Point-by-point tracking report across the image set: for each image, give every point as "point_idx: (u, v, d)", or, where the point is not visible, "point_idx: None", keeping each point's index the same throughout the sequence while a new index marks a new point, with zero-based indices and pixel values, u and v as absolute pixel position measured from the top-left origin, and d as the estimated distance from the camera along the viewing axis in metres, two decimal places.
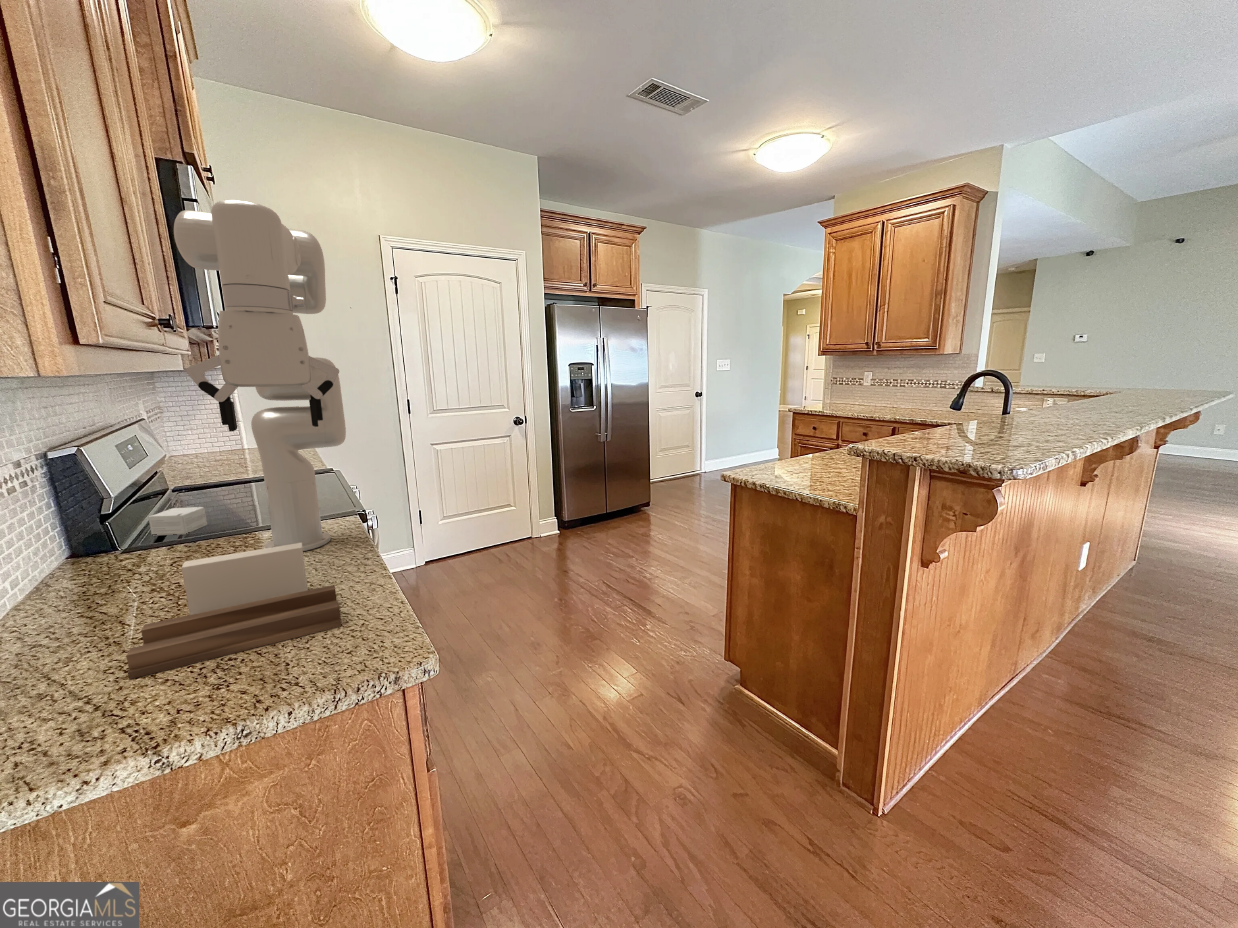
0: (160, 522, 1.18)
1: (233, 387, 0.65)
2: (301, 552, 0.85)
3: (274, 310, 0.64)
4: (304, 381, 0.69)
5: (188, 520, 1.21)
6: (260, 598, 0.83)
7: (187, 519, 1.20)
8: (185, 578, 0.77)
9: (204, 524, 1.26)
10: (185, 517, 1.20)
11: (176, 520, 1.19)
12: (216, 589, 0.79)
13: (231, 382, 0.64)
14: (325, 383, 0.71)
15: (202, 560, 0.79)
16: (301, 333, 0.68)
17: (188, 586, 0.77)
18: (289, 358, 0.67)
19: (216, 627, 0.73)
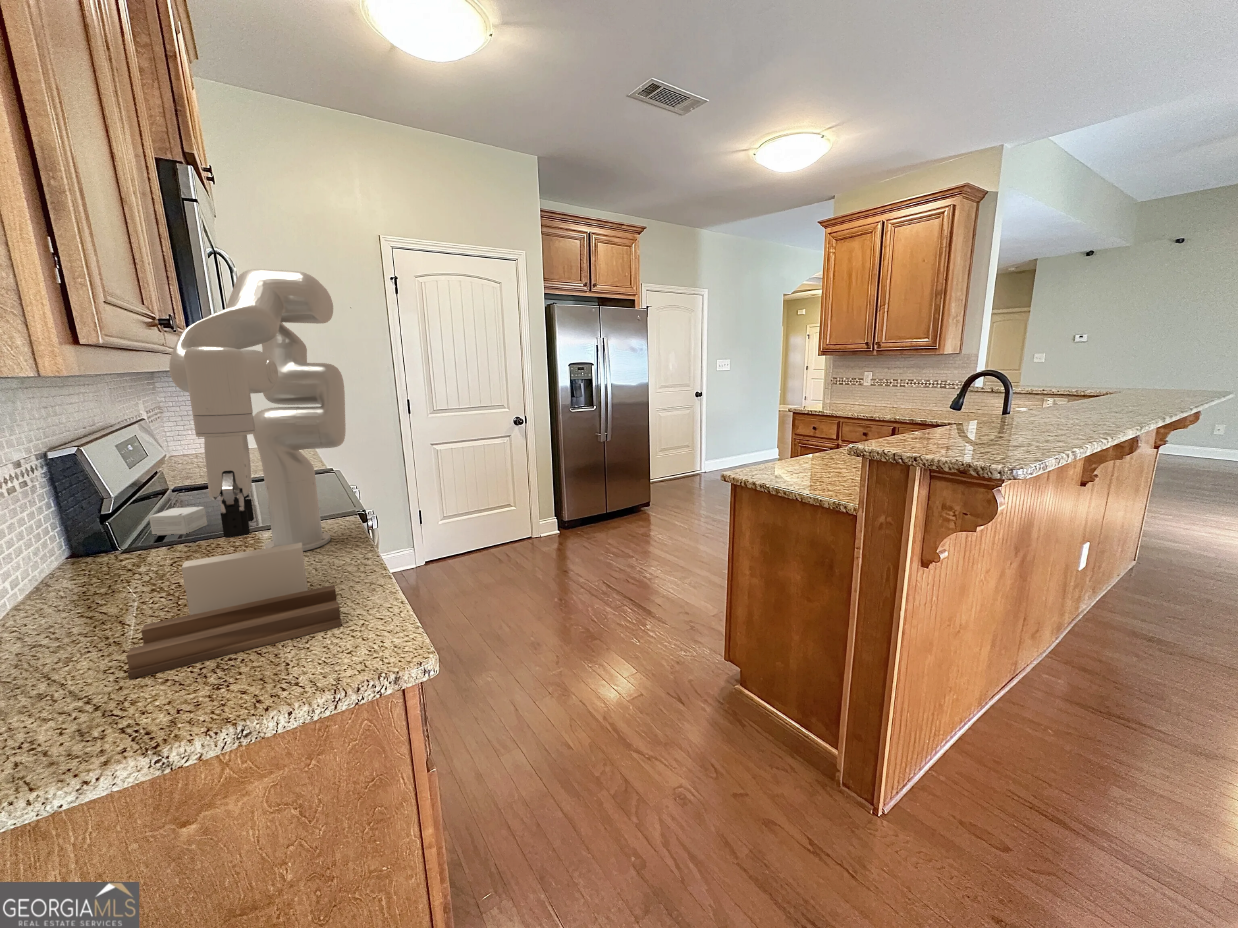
0: (161, 522, 1.18)
1: (243, 497, 0.77)
2: (301, 552, 0.85)
3: None
4: None
5: (189, 520, 1.21)
6: (260, 598, 0.83)
7: (189, 519, 1.21)
8: (185, 578, 0.77)
9: (204, 524, 1.26)
10: (186, 517, 1.20)
11: (177, 520, 1.19)
12: (216, 589, 0.79)
13: (247, 493, 0.77)
14: None
15: (202, 560, 0.79)
16: None
17: (188, 586, 0.77)
18: None
19: (216, 627, 0.73)
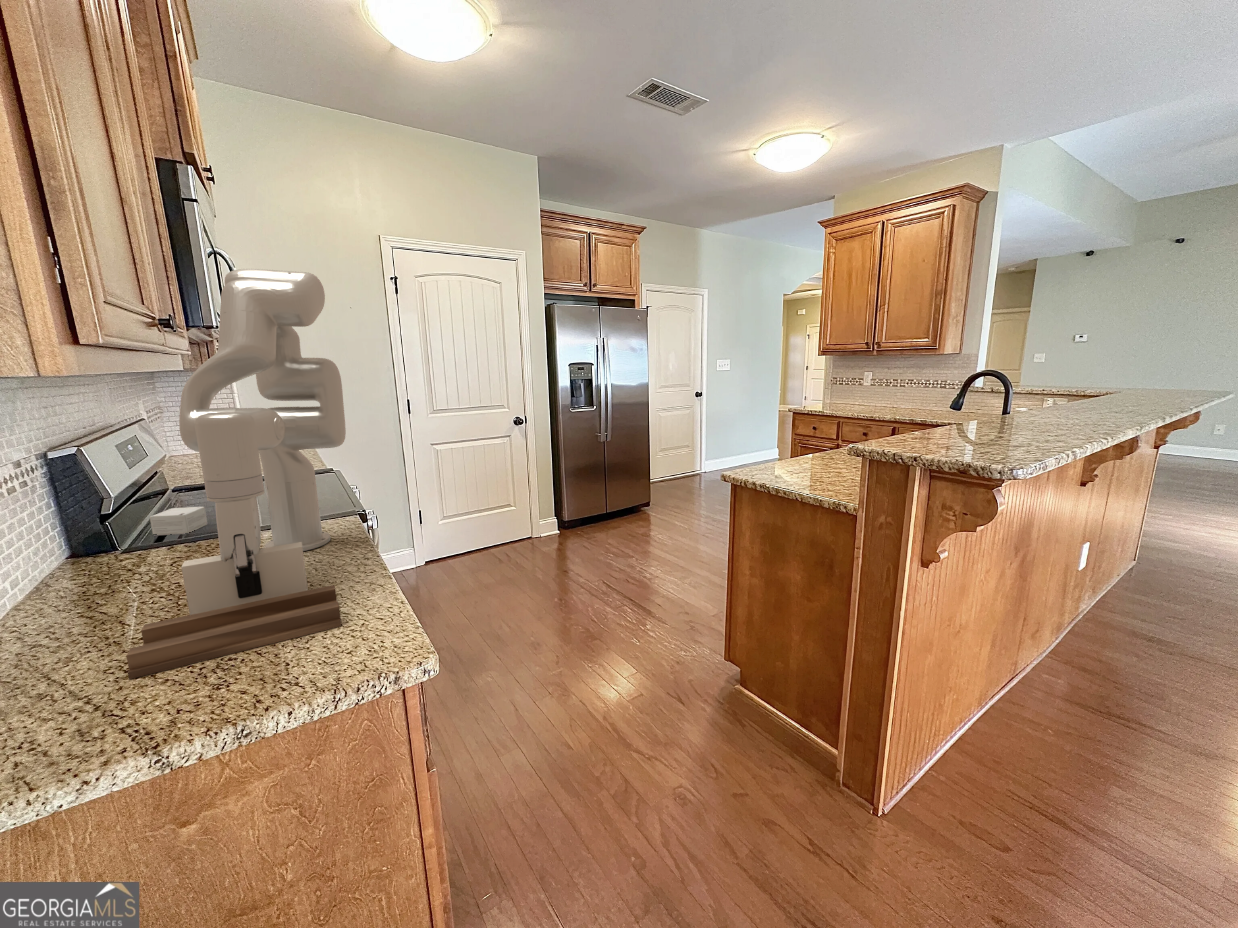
0: (162, 522, 1.18)
1: None
2: (301, 551, 0.85)
3: None
4: None
5: (190, 520, 1.21)
6: (260, 597, 0.83)
7: (190, 519, 1.21)
8: (185, 577, 0.77)
9: (205, 524, 1.26)
10: (187, 516, 1.20)
11: (178, 520, 1.19)
12: (216, 589, 0.79)
13: (257, 553, 0.79)
14: None
15: (202, 559, 0.79)
16: None
17: (188, 585, 0.77)
18: None
19: (216, 627, 0.73)
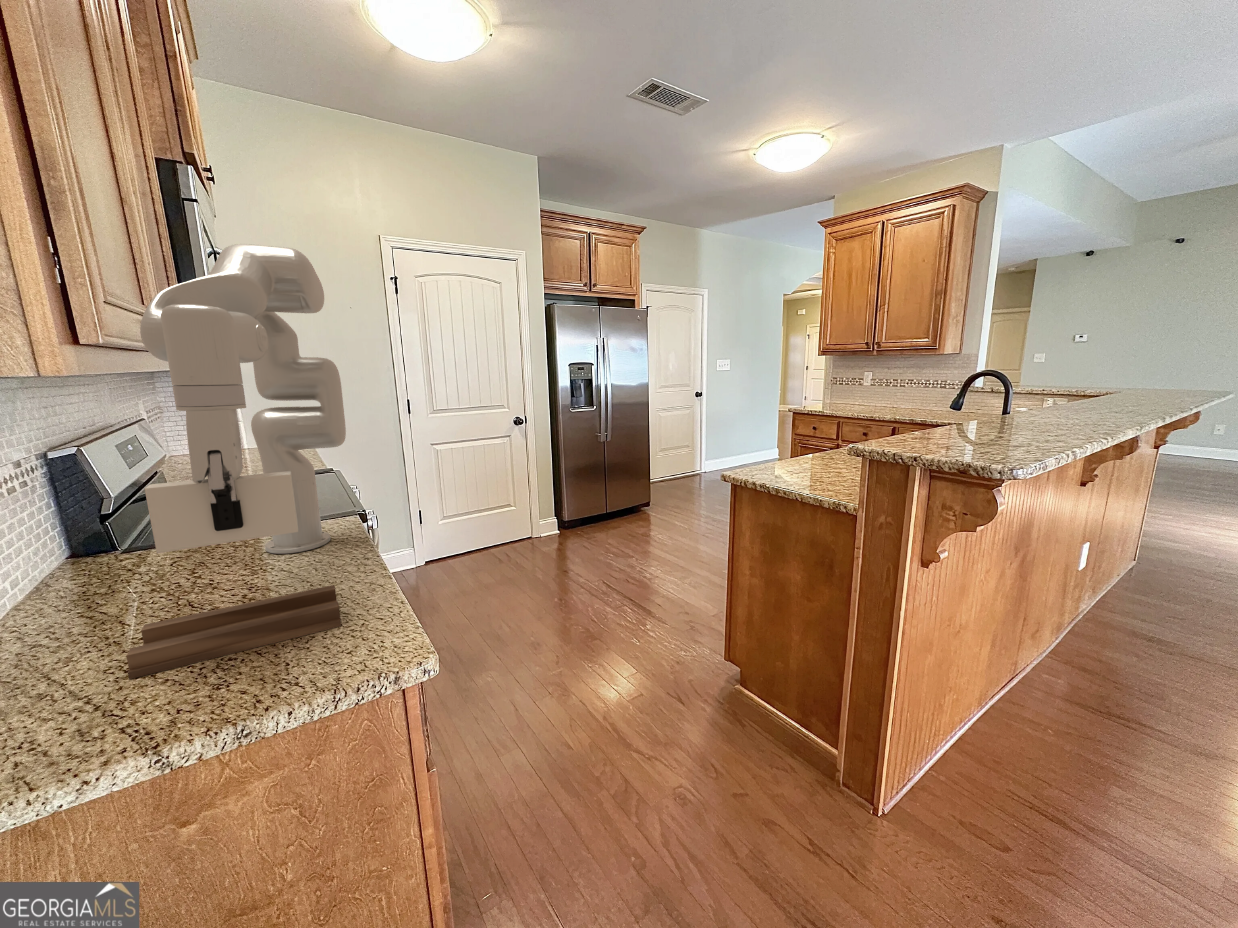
0: None
1: (234, 483, 0.68)
2: (289, 480, 0.72)
3: None
4: None
5: None
6: (241, 532, 0.70)
7: None
8: (149, 501, 0.64)
9: None
10: None
11: None
12: (188, 518, 0.67)
13: (237, 476, 0.67)
14: None
15: (171, 483, 0.67)
16: None
17: (153, 512, 0.64)
18: None
19: (216, 627, 0.73)
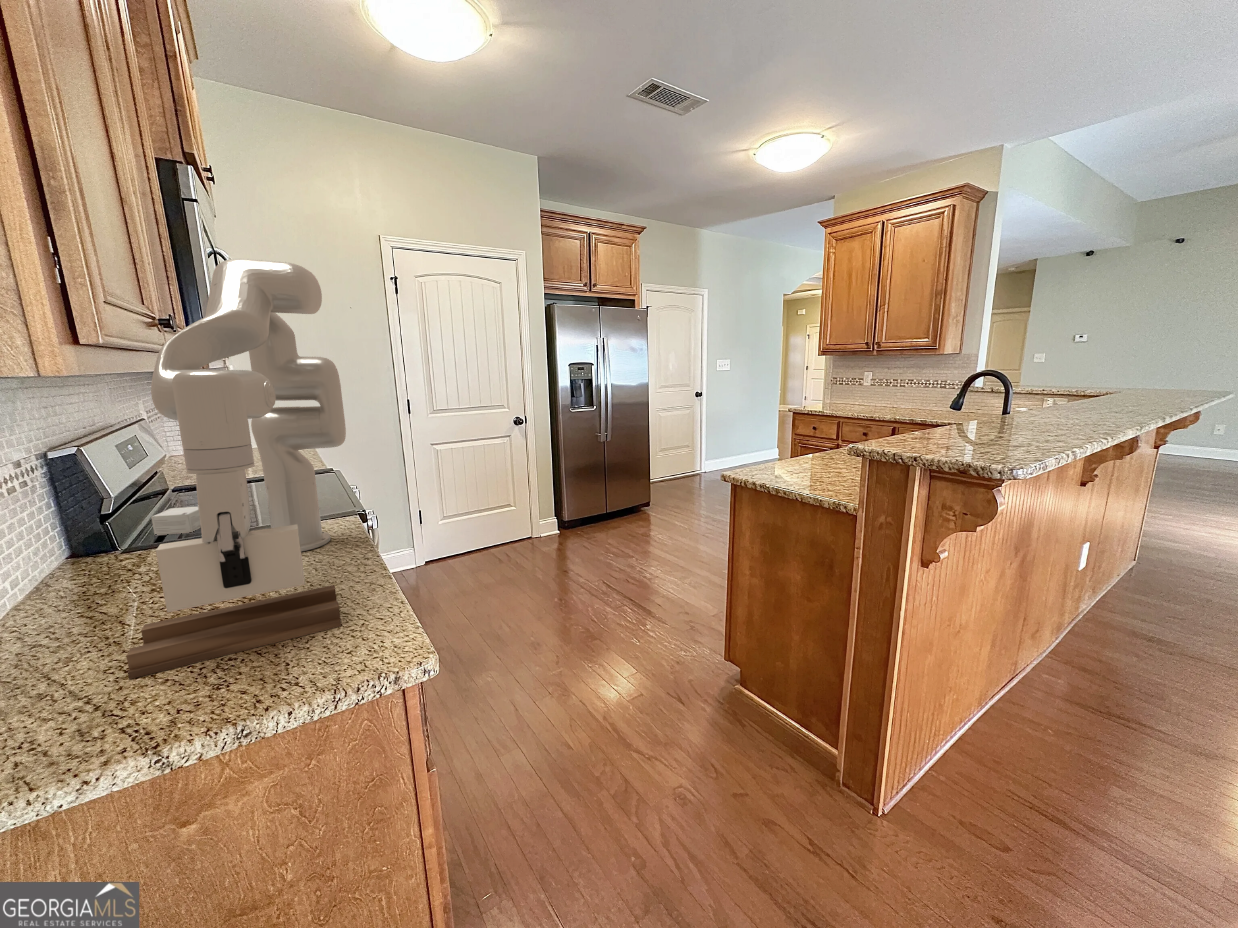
0: (164, 522, 1.19)
1: None
2: (296, 534, 0.74)
3: None
4: None
5: (193, 519, 1.21)
6: (249, 587, 0.71)
7: (192, 518, 1.21)
8: (160, 562, 0.65)
9: None
10: (190, 516, 1.21)
11: (181, 519, 1.19)
12: (197, 577, 0.68)
13: (245, 535, 0.68)
14: None
15: (181, 542, 0.68)
16: None
17: (164, 572, 0.66)
18: None
19: (216, 627, 0.73)
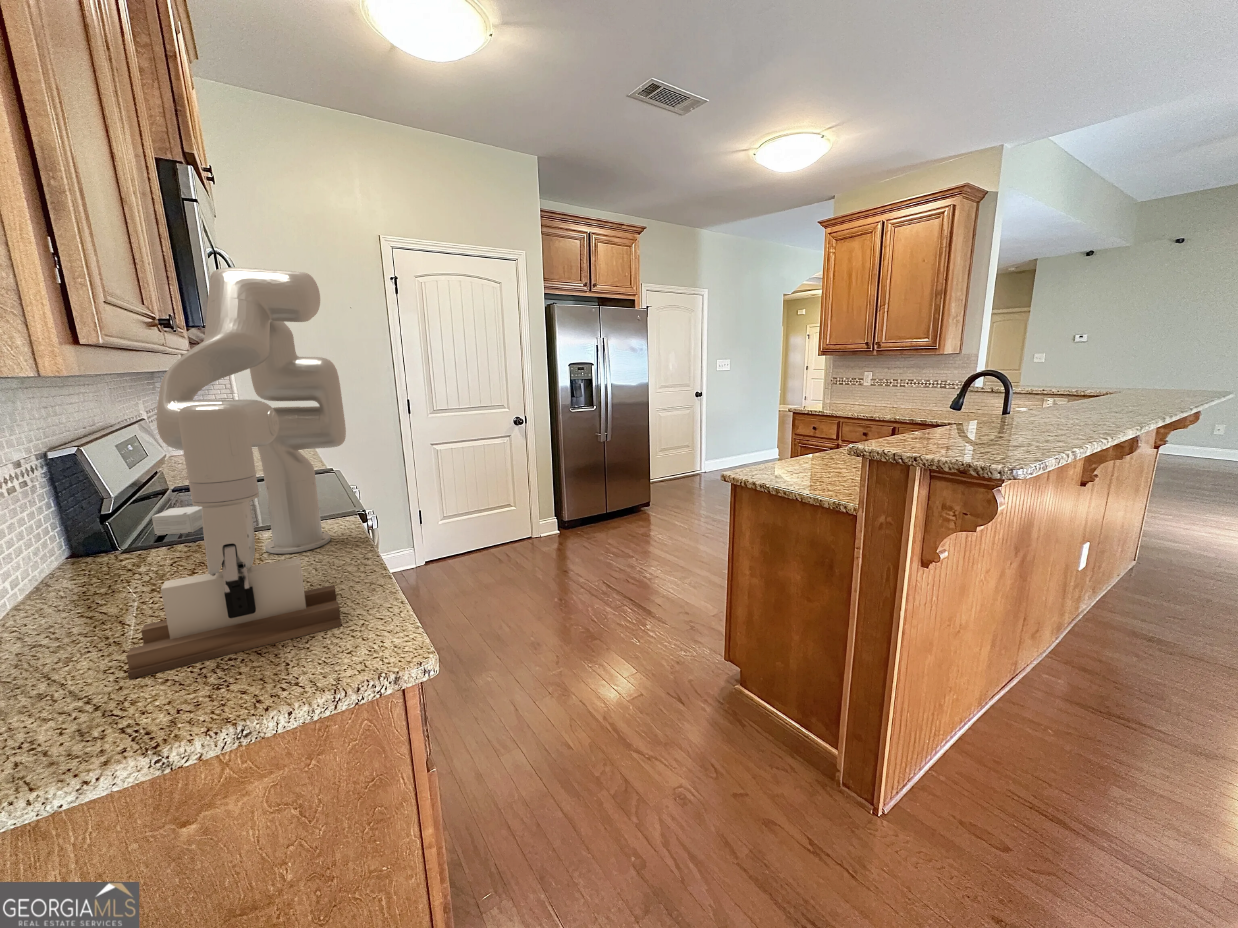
0: (165, 522, 1.19)
1: (247, 571, 0.70)
2: (299, 569, 0.75)
3: None
4: None
5: (193, 519, 1.22)
6: None
7: (193, 518, 1.21)
8: (165, 600, 0.67)
9: None
10: (191, 516, 1.21)
11: (182, 519, 1.19)
12: (202, 613, 0.69)
13: (250, 565, 0.69)
14: None
15: (185, 579, 0.69)
16: None
17: (169, 610, 0.67)
18: None
19: None
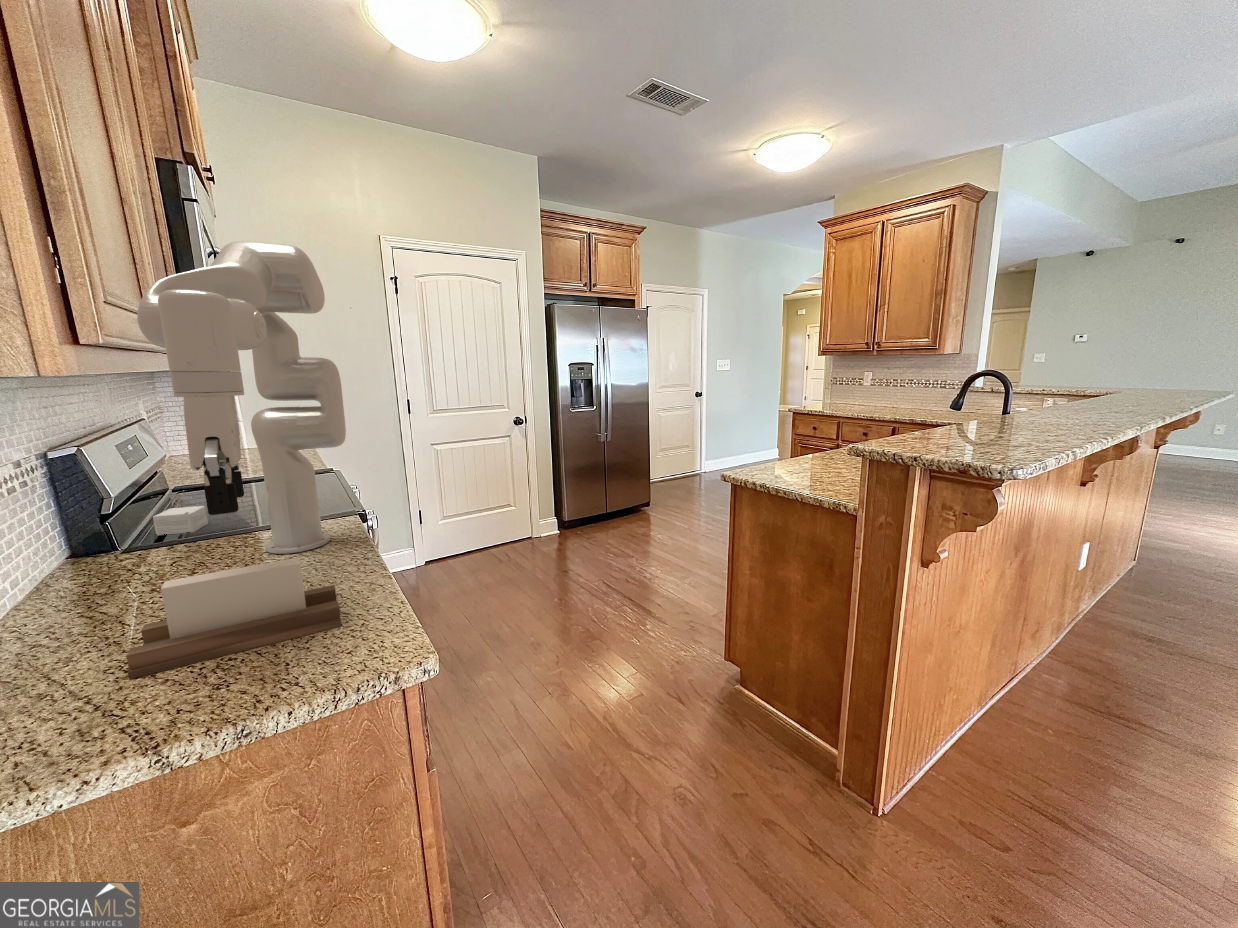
0: (166, 521, 1.19)
1: (230, 468, 0.66)
2: (299, 569, 0.75)
3: None
4: None
5: (195, 518, 1.22)
6: None
7: (194, 518, 1.22)
8: (165, 600, 0.67)
9: (206, 523, 1.27)
10: (192, 515, 1.21)
11: (183, 519, 1.20)
12: (202, 613, 0.69)
13: (235, 463, 0.66)
14: None
15: (185, 579, 0.69)
16: None
17: (169, 610, 0.67)
18: None
19: None
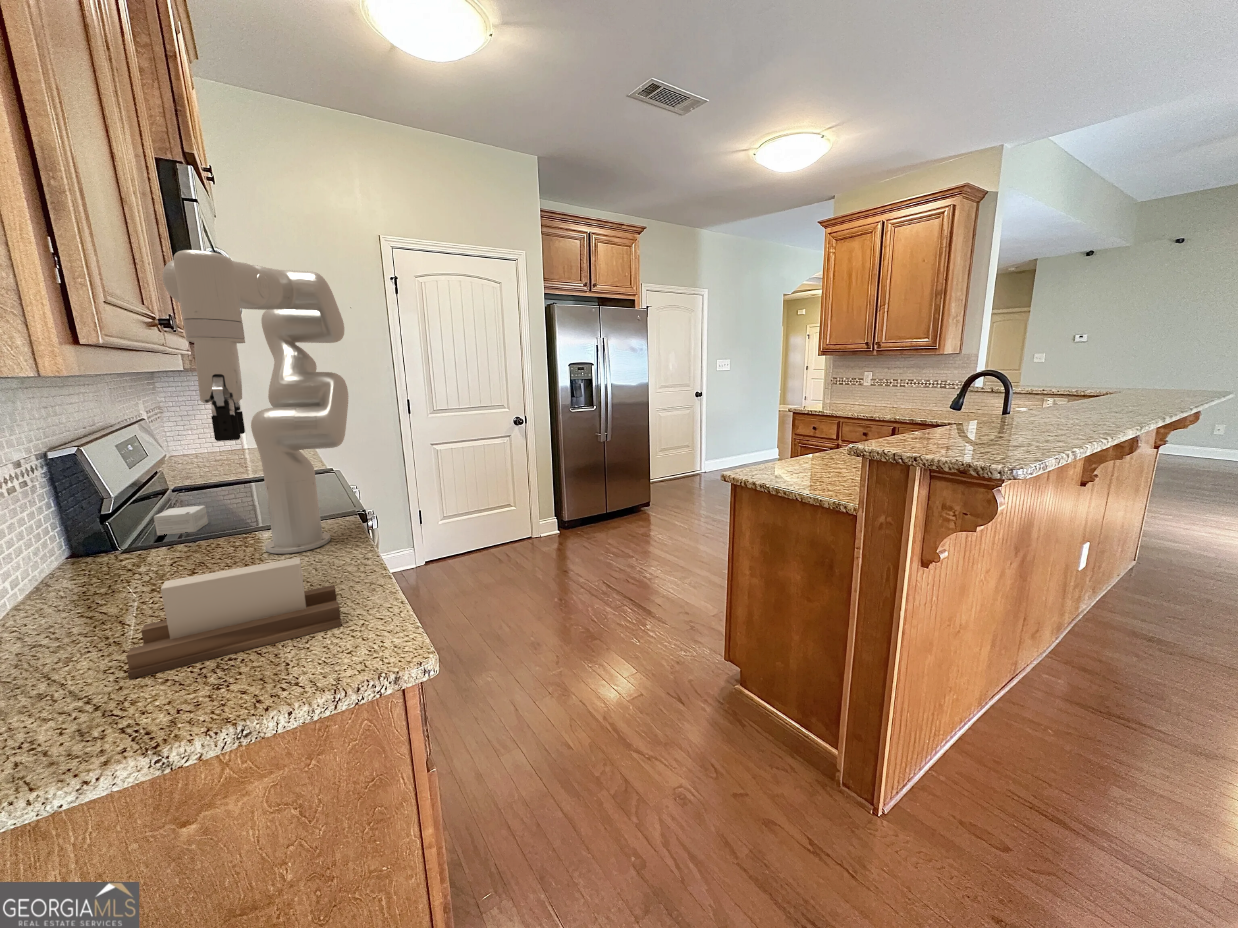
0: (167, 521, 1.19)
1: (233, 403, 0.79)
2: (299, 569, 0.75)
3: None
4: None
5: (196, 518, 1.22)
6: None
7: (195, 517, 1.22)
8: (165, 600, 0.67)
9: (206, 522, 1.27)
10: (194, 515, 1.21)
11: (185, 518, 1.20)
12: (202, 613, 0.69)
13: (237, 399, 0.79)
14: None
15: (185, 579, 0.69)
16: None
17: (169, 610, 0.67)
18: None
19: None
